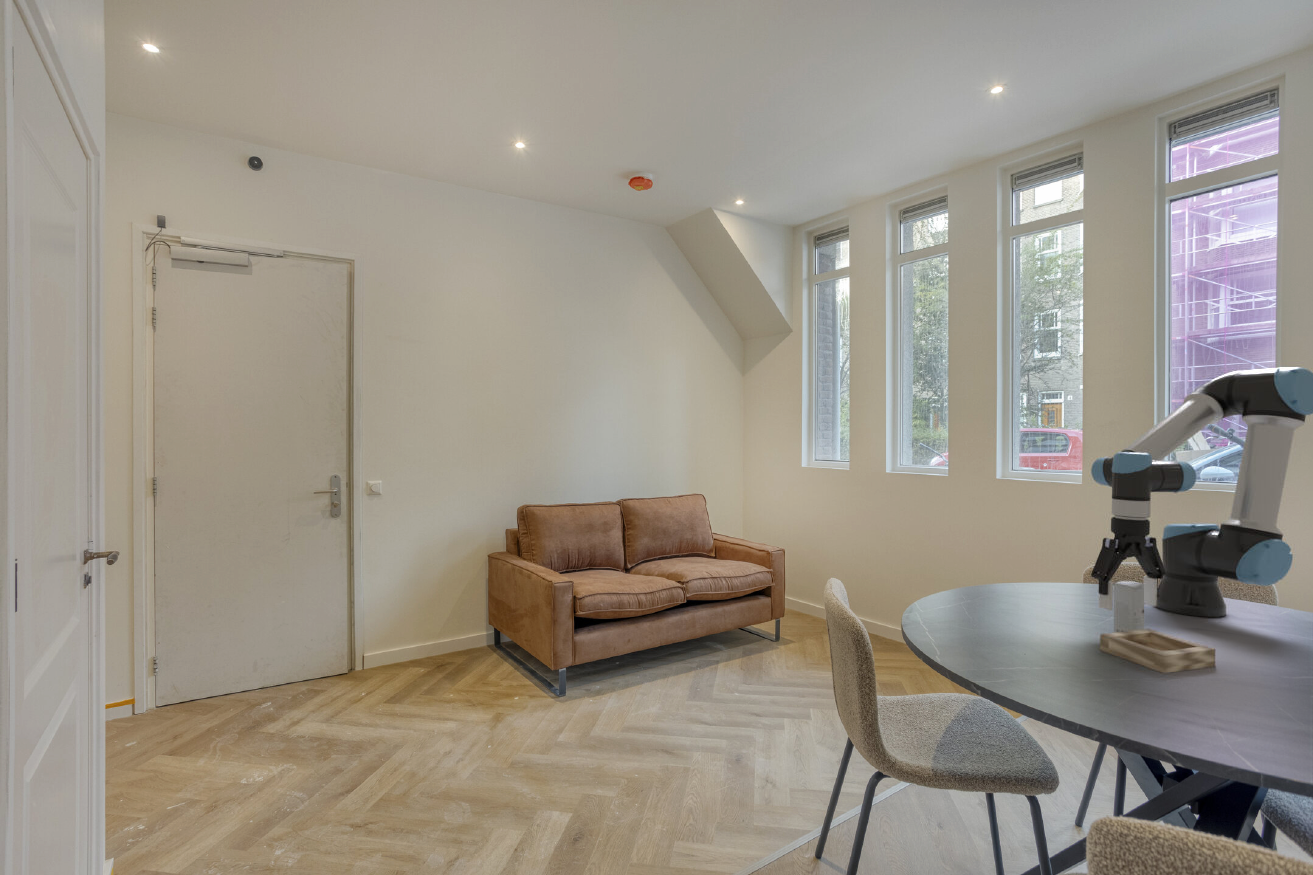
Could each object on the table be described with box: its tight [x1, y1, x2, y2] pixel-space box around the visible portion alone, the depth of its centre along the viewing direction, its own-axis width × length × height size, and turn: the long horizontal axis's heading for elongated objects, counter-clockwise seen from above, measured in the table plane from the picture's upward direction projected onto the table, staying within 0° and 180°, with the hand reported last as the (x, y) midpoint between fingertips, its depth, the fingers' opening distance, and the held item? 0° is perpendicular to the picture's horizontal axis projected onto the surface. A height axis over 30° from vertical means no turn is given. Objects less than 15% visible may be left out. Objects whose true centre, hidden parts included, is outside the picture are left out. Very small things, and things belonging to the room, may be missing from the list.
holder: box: [1099, 628, 1216, 674], centre depth 142 cm, size 14×14×4 cm
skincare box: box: [1113, 580, 1145, 633], centre depth 158 cm, size 6×4×12 cm
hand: (1127, 606), depth 158 cm, fingers open, 13 cm apart
